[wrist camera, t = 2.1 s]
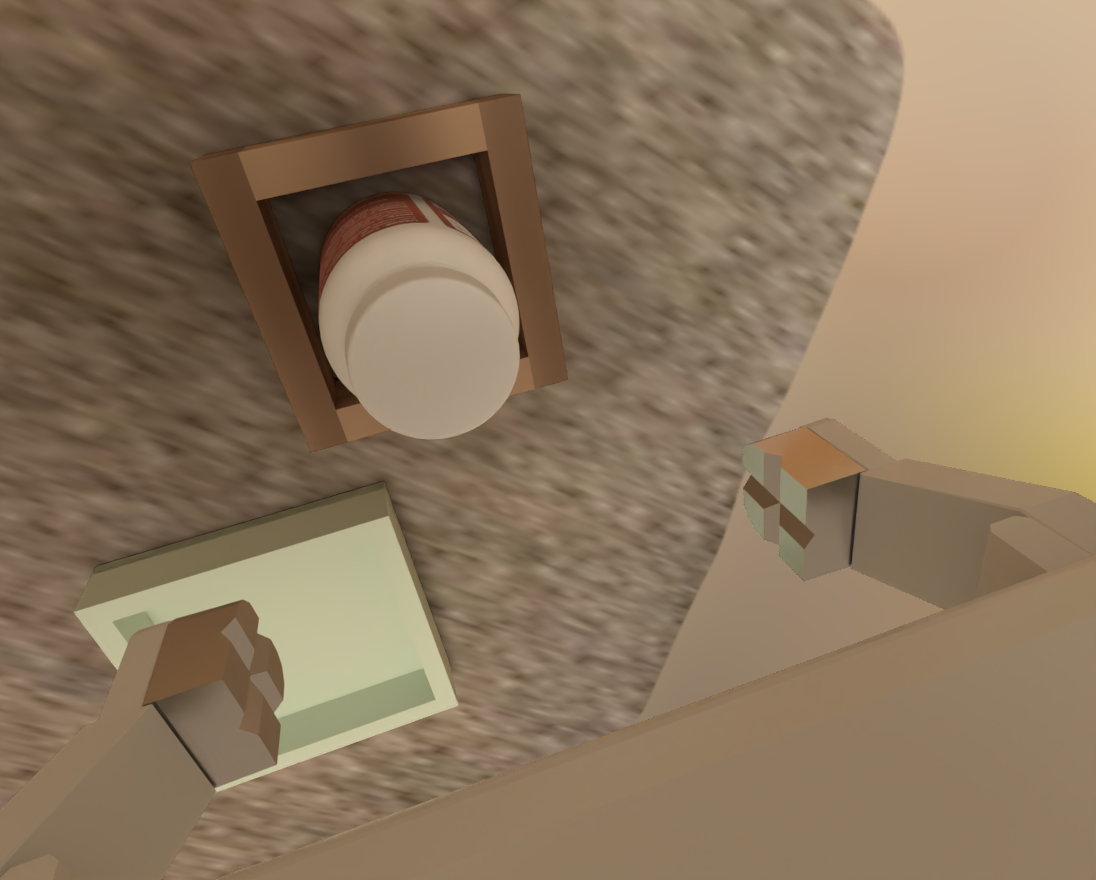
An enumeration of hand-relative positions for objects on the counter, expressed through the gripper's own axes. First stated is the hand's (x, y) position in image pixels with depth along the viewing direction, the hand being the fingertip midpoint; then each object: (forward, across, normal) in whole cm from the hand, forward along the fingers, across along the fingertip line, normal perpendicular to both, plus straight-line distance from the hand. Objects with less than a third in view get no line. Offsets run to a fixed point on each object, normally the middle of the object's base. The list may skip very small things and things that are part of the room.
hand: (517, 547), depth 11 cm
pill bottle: (+20, 0, 0) cm, 20 cm away
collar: (+19, 0, 0) cm, 19 cm away
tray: (+19, +10, +16) cm, 27 cm away
